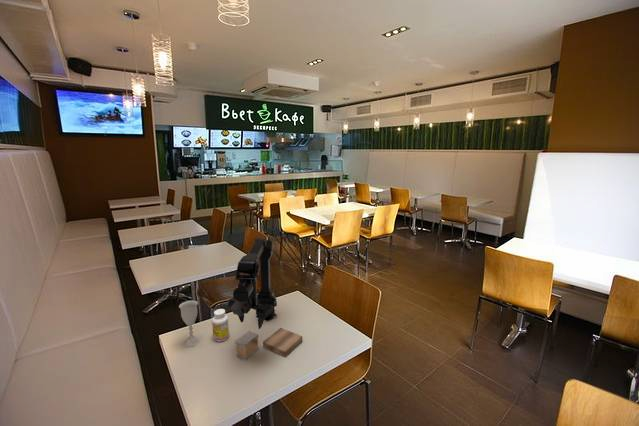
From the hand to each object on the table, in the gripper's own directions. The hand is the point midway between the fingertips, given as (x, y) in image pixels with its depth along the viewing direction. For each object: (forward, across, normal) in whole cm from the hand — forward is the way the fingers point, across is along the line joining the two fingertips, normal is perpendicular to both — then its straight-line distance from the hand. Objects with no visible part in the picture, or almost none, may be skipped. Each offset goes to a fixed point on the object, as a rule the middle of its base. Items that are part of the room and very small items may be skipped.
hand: (250, 325), depth 119 cm
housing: (+12, -1, -1) cm, 13 cm away
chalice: (+12, -27, -8) cm, 31 cm away
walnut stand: (+12, +8, +10) cm, 18 cm away
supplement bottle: (+12, -18, +1) cm, 22 cm away
